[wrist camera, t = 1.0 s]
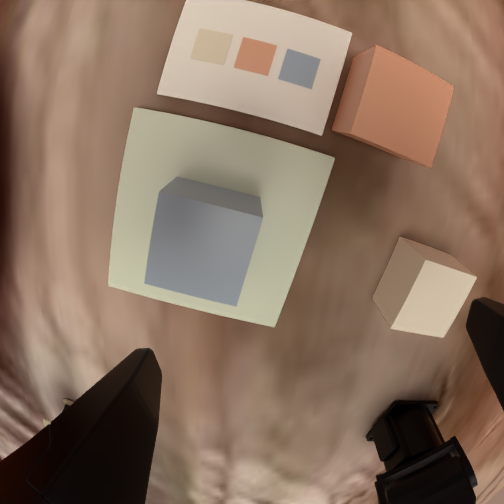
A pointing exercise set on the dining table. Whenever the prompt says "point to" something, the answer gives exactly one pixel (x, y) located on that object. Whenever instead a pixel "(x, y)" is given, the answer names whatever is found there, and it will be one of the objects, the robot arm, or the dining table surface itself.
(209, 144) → the plate
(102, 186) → the dining table surface
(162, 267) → the brick base
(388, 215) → the dining table surface
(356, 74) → the brick
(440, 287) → the brick
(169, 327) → the dining table surface
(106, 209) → the dining table surface
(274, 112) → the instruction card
